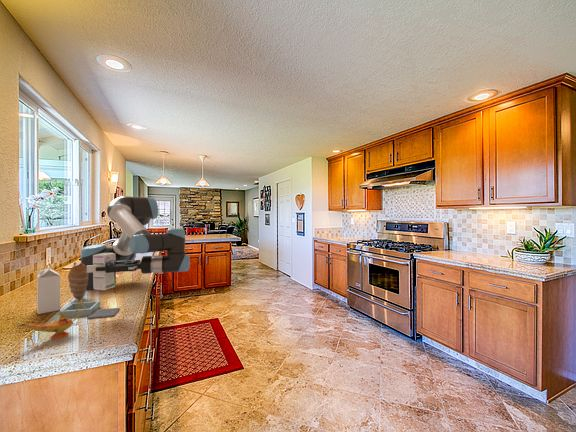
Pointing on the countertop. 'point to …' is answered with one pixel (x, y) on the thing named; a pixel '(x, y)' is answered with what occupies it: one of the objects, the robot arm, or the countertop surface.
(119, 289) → the countertop surface
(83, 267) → the cat ice cream
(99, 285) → the syrup box
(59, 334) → the magic lamp
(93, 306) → the corral
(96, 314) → the coaster
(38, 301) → the milk carton
